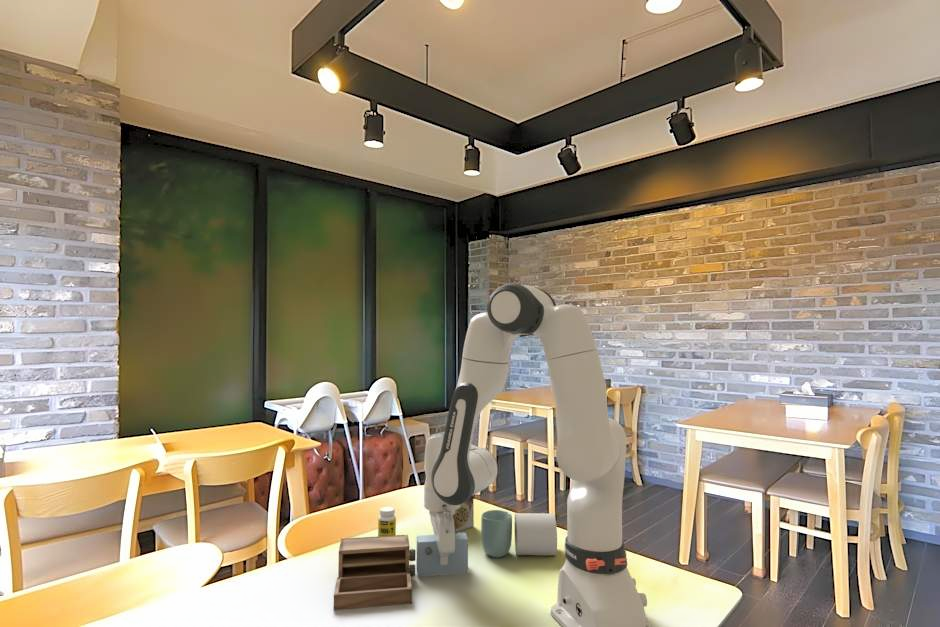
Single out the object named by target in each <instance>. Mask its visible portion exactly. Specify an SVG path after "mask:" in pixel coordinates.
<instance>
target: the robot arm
mask: <svg viewBox="0 0 940 627" xmlns="http://www.w3.org/2000/svg"><path fill="white" fill-rule="evenodd" d="M486 310H487V311H484V312H481V313H478V314H475V315H474V316H473V317H472V318H471V320H470V321H469V324H468V326H467V327H468V328H467V331H466V333H465V334H466V335H465V339H464V344H463V348H462V357H461V365H460V371H459V375H458V379H457V380H458V381H457V383H456V387H455V389H454V391H453V395H452V397H451V401H450V404H449V408H448V414H447V418H446V423H445V429H444V431H441V432H436V433H433V434H431V435H430V436H429V437H427V439H426V443H425V448H424V460H423V462H424V465H423V468H424V473H425V482H424V485H423V507H424V509H425V510H427V511H428V512H429V517H430V521H431V526H432V531H433V535H435V539H436V543H437V547H438V551H439V553H440V564H441V565H447V564H448V555H449V554H451V553H454V551H455V533H456V532H455V526H454V518H453V515H454V514H455V510H457V509H458V508H459V507H460V505H461V504H462V503H464V502H465V501H466V500H468V499H469V498H470V497H471V496H473V497H474V496H475V495H476V494H478V493H480V492H482V491H483V490H484V489H487V488H489V487H490V486H491V485H493V484H494V482H495V481H496V480H497V477H498V473H499V466H498V463H497V462H498V461H497V460H496V458H495V456H494V455H493V454H492V452H491V451H489V450H488V449H486V448H483V447H479V446H477V445H474V444H472V442H473V437H474V432H475V427H476V423H477V420H478V418H479V416H480V414H481V413H482V411H483V410H484V409H485V408H486V406H488V405H489V404H490V403H491V402H492V401H494V399H495V398H497V397H498V396H499V395H500V394H501V393H502V391H503V390H504V388H505V386H506V382H507V379H508V376H509V371H510V369H509V368H510V358H511V357H510V356H511V348H512V344H513V343H514V341H515V339H517V337H521V338H523V337H528V336H533V335H535V337H537V338H538V339H539V341H540V342H541V345H542V349H543V352H544V357H545V361H546V365H547V370H548V373H549V379H550V382H551V387H552V391H553V396H554V397H553V398H554V405H555V406H554V408H555V423H556V424H555V425H556V437H557V442H556V444H557V445H556V450H555V457H556V462H557V465H558V467H559V469H560V470H561V472H563V474H564V475H565V476H566V477H568V478H569V479H571V481H570V488H569V493H568V495H567V500H566V506H567V508H566V510H567V511H566V513H567V514H566V515H567V517H566V519H567V520H566V522H567V523H566V524H567V525H566V526H567V527H566V529H567V530H566V531H567V533H566V535H567V536H566V537H565V543H564V556H565V558H566V559H565V561H564V563H563V565H562V567H560V570H559V571H558V578H557V579H558V580H557V581H558V582H557V599H556V603H555V604H553V605H552V606H551V608H550V615H551V616H552V618H553V619H555V621H557V623H558V624H560V626H562V627H652V625H651V623H650V622H649V619H648V618H647V617H646V616H647V615H646V611H645V608H646V607H647V605H648V600H647V594H645V593H643V592H638V589H637V582H636V578H634V577H632V575H631V573H630V571H629V569H628V558H627V552H626V548H625V544H624V542H623V496H624V488H625V486H624V485H625V476H626V460H627V439H628V438H627V435H626V432H625V429H624V427H623V426H622V425H621V424H620V423H619V422H618V421H617V420H616V419H613V418H611V417H610V416H609V411H608V401H607V383H606V379H605V374H604V371H603V367H602V363H601V360H600V355H599V350H598V347H597V344H596V340H595V337H594V334H593V332H592V329H591V327H590V326H591V325H590V324H589V321H588V319H587V317H586V315H585V313H584V311H583V310H582V309H581V307H578V306H577V305H575V304H574V305H573V304H570V303H568V304H567V303H566V304H564V303H563V304H558V305H557V303H556V301H555V299H554V298H553V296H552V295H551V294H549V293H548V292H546V291H545V290H543V289H538V288H536V287H534V286H532V285H528V284H520V283H513V282H511V283H506V284H503V285H500V286H499V287H497V288H496V289H495V290H493V292H492V293H491V294H490V296H489V298H488V301H487V305H486Z"/></svg>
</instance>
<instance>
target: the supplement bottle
mask: <svg viewBox="0 0 940 627" xmlns="http://www.w3.org/2000/svg"><path fill="white" fill-rule="evenodd" d="M395 512H396V511H395V508H394V507H392V506H384V507H381V508H380V509H379V515H378V524H377V526H378V527H377V528H378V530H377V532H378V533H377V537H378V536H394V535H397V534H396V532H397V531H396V529H397V528H396V526H397V524H396V523H397V516H396V515H395Z"/></svg>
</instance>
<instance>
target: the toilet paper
mask: <svg viewBox="0 0 940 627" xmlns="http://www.w3.org/2000/svg"><path fill="white" fill-rule="evenodd" d="M513 523H514V528H513V529H514V530H513V531H514V550H515V555H516V556H557V553H558V531H557V530H558V528H557V521H556V515H555V513H543V512H539V513H537V512H536V513H530V512H529V513H527V512H524V513H523V512H521V513H520V512H515V513H514V522H513Z"/></svg>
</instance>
